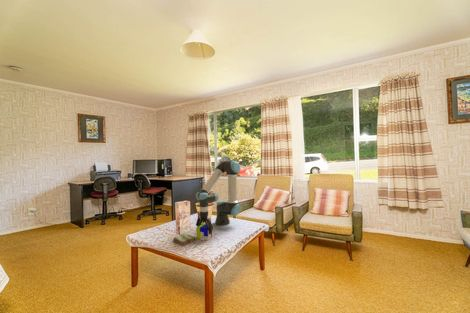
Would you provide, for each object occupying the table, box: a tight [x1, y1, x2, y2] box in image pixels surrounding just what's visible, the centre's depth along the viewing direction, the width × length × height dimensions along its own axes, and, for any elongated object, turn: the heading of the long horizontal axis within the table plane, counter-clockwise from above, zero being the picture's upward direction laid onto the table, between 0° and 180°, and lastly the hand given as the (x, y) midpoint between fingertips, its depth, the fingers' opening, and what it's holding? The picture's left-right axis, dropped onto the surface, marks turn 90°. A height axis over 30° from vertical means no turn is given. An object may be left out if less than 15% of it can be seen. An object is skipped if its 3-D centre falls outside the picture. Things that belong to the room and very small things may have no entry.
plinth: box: [172, 233, 197, 246], centre depth 180 cm, size 13×13×3 cm
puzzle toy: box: [195, 223, 213, 241], centre depth 186 cm, size 10×10×10 cm
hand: (204, 235), depth 186 cm, fingers closed on puzzle toy, 12 cm apart
